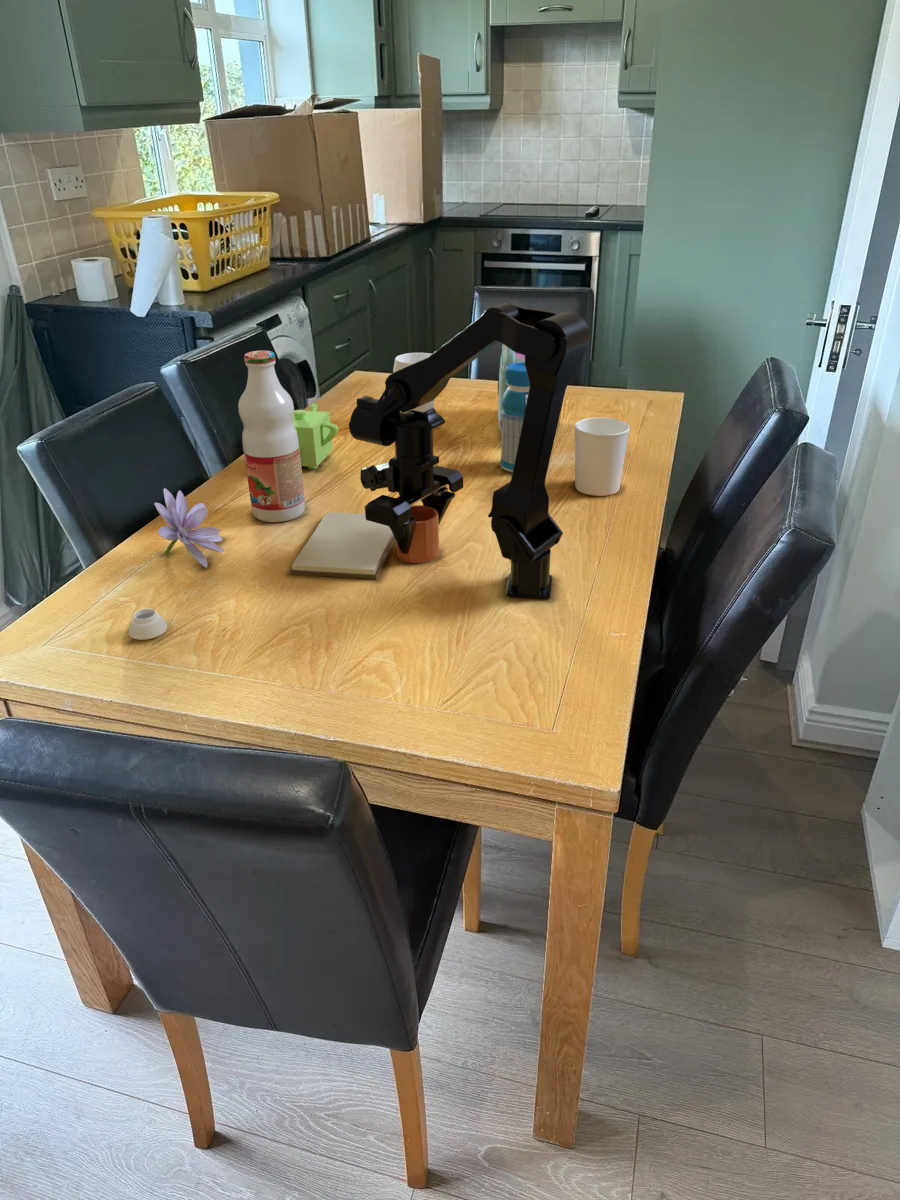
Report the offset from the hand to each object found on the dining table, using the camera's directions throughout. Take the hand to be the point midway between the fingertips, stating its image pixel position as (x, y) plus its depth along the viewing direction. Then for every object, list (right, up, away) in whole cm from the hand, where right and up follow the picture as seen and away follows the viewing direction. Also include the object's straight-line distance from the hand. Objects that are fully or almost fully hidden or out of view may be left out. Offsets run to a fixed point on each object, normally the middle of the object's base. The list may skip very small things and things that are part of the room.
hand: (417, 544), depth 135 cm
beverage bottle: (+19, +17, +33) cm, 42 cm away
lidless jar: (-36, -13, -19) cm, 43 cm away
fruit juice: (-25, +7, +16) cm, 30 cm away
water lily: (-36, -2, +1) cm, 36 cm away
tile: (-11, 0, +3) cm, 12 cm away
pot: (0, -1, +1) cm, 2 cm away
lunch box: (+21, +30, +55) cm, 66 cm away
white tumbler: (+33, +12, +23) cm, 42 cm away
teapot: (-25, +19, +37) cm, 49 cm away
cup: (-2, +31, +57) cm, 65 cm away
